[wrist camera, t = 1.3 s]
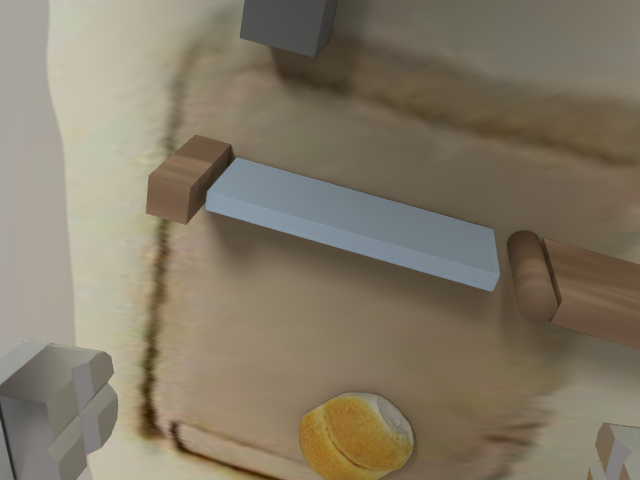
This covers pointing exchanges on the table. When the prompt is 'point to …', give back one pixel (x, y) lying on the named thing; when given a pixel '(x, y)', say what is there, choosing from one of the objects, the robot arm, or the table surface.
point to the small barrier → (523, 248)
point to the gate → (357, 222)
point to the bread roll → (355, 437)
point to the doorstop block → (289, 24)
